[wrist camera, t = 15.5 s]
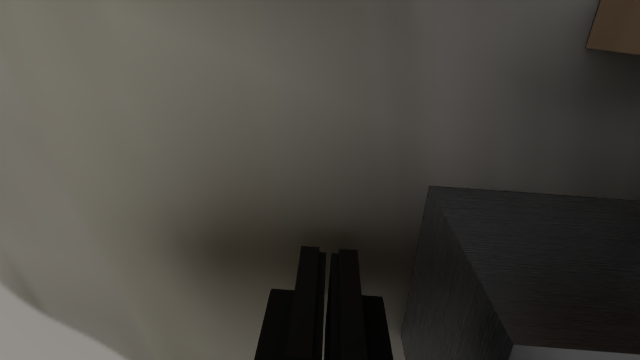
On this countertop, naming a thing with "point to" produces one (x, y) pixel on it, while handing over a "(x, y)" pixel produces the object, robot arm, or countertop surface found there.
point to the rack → (616, 27)
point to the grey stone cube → (524, 278)
